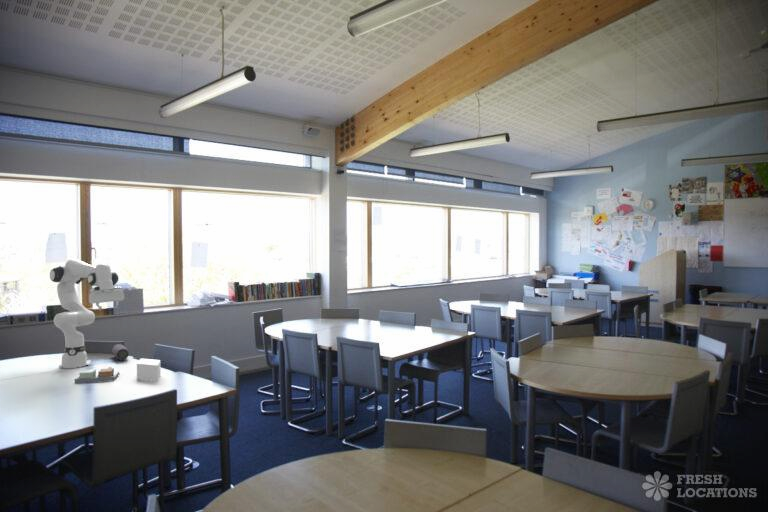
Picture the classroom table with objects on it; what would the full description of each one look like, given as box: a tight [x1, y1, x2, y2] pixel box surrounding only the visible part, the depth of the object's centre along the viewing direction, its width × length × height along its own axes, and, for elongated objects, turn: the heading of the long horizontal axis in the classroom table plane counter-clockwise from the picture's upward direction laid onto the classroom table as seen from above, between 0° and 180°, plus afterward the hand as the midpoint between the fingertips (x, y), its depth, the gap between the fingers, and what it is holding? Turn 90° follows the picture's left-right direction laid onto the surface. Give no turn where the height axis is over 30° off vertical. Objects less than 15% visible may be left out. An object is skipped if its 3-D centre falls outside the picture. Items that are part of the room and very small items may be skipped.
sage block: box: [79, 368, 97, 379], centre depth 296 cm, size 8×7×6 cm
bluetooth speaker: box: [111, 343, 130, 361], centre depth 358 cm, size 23×9×10 cm, turn 36°
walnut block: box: [97, 366, 115, 377], centre depth 303 cm, size 15×7×6 cm, turn 19°
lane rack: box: [74, 371, 120, 384], centre depth 300 cm, size 15×22×2 cm
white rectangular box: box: [136, 357, 161, 382], centre depth 304 cm, size 14×29×10 cm, turn 46°
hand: (108, 308), depth 311 cm, fingers open, 8 cm apart
